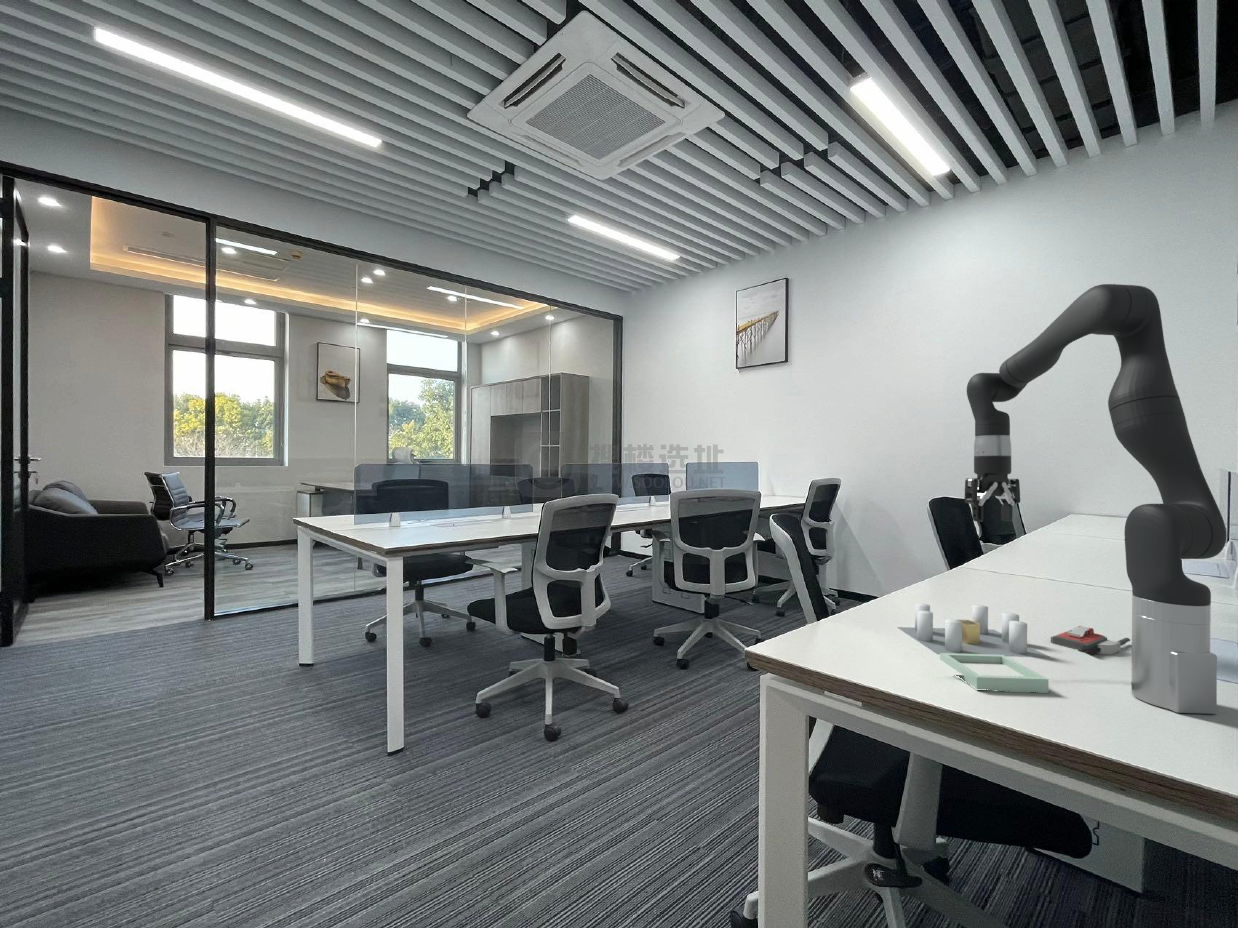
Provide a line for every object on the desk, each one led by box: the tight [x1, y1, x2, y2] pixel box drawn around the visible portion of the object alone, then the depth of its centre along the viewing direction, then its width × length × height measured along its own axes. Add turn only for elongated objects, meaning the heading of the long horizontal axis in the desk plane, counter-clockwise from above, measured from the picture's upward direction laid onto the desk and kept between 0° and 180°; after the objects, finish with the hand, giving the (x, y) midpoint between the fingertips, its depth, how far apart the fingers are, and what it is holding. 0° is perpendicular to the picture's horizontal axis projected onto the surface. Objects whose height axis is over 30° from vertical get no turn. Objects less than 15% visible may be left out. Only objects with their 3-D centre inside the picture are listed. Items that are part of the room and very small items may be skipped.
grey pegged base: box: [896, 602, 1050, 658], centre depth 117 cm, size 18×22×7 cm
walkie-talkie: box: [1050, 625, 1131, 656], centre depth 117 cm, size 9×4×20 cm
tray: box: [939, 653, 1050, 694], centre depth 100 cm, size 12×12×2 cm
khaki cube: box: [958, 619, 980, 644], centre depth 117 cm, size 4×5×4 cm
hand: (992, 521), depth 131 cm, fingers open, 8 cm apart
